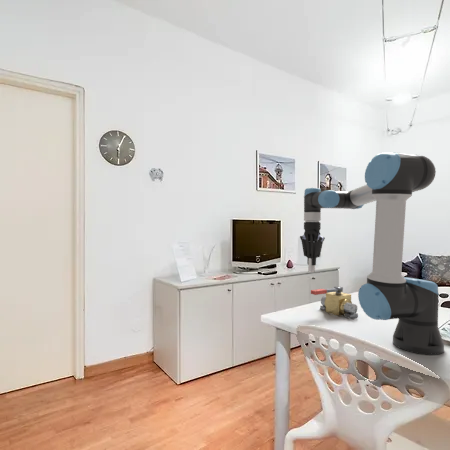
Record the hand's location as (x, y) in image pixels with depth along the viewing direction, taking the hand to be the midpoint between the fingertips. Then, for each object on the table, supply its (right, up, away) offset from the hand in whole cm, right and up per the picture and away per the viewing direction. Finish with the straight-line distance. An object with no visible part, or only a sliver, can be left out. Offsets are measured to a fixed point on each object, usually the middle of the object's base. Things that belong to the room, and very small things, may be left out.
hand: (311, 272), depth 153 cm
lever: (+7, -9, -2) cm, 12 cm away
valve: (+13, -19, +1) cm, 23 cm away
